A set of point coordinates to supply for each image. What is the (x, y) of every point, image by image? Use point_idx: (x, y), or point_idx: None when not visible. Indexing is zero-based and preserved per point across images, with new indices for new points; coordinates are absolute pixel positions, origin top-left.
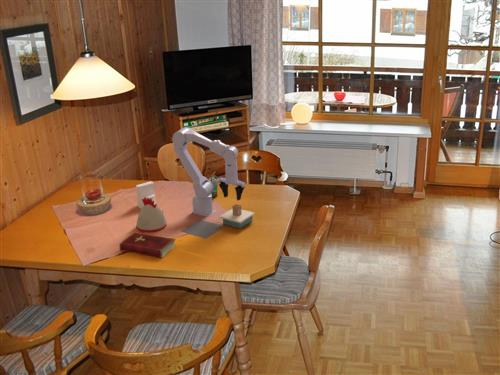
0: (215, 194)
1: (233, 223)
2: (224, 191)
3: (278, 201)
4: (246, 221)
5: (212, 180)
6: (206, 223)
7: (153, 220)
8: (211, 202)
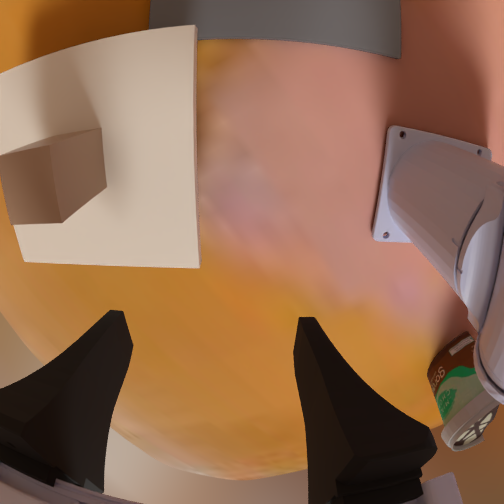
0: (436, 374)
1: None
2: (318, 378)
3: (157, 427)
4: None
5: (472, 426)
6: (318, 11)
7: None
8: (428, 234)
